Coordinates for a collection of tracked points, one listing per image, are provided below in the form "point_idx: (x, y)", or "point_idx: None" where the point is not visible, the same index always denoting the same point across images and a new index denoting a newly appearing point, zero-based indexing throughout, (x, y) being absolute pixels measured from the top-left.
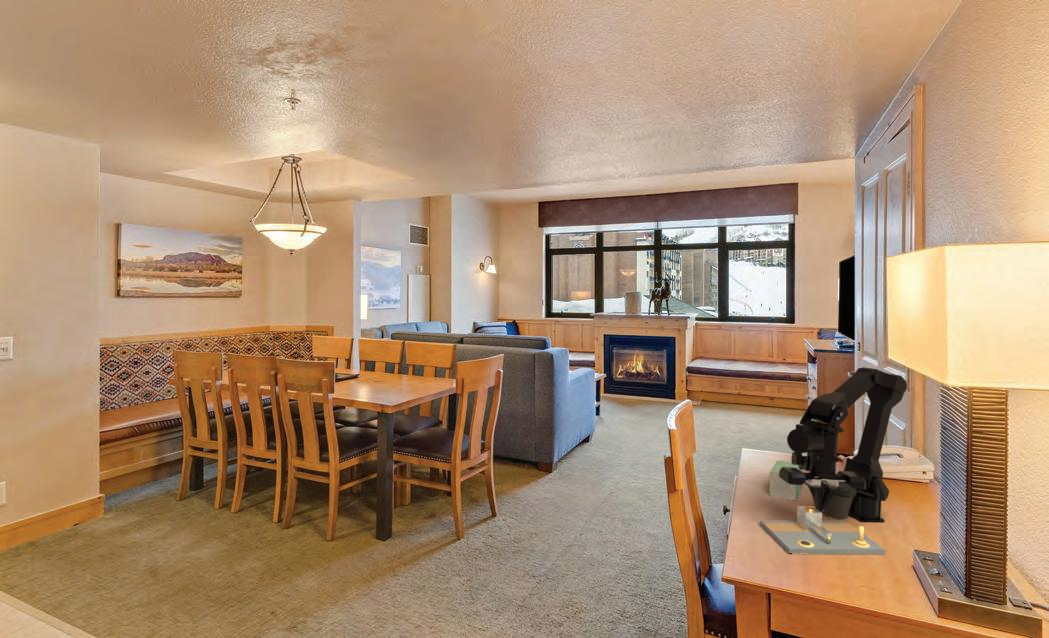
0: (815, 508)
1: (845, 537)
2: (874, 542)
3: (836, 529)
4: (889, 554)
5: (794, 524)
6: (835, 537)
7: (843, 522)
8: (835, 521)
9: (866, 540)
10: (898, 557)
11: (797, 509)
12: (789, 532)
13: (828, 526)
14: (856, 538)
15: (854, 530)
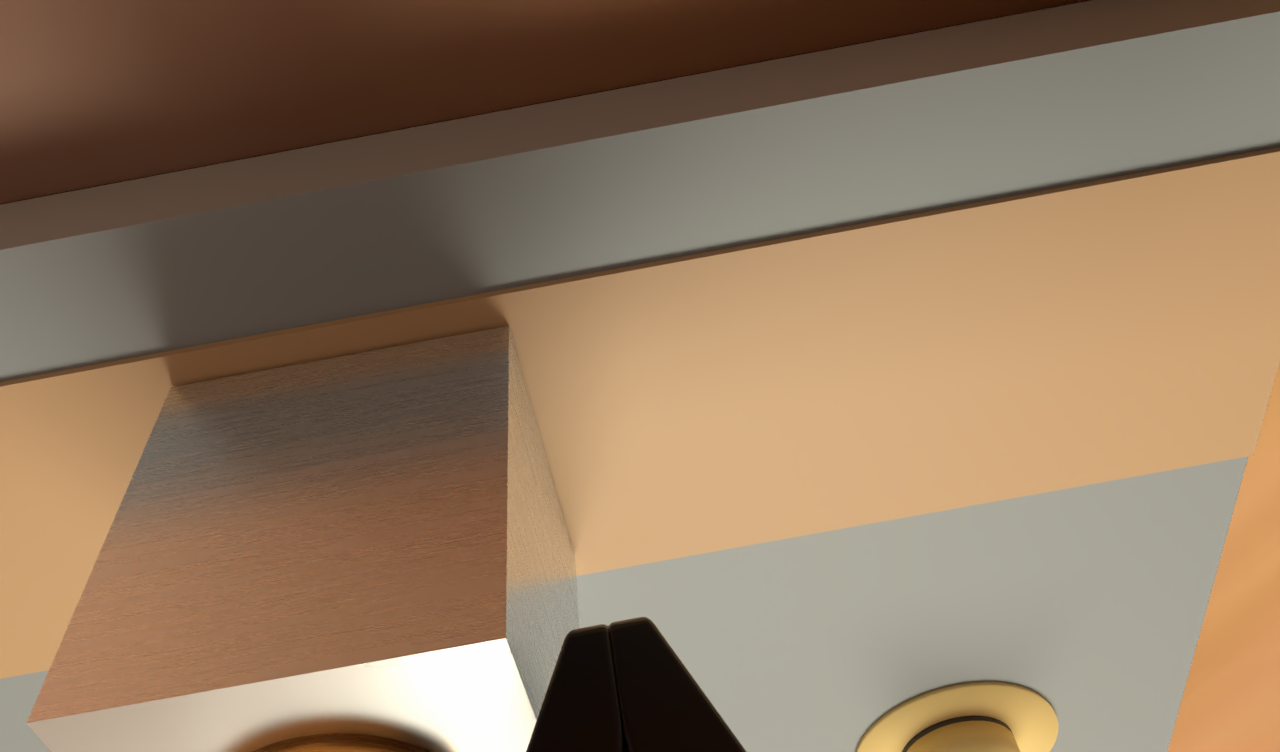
0: (520, 738)
1: (862, 644)
2: (1175, 679)
3: (873, 460)
4: (1187, 711)
5: (121, 431)
6: (711, 669)
7: (1255, 106)
8: (1107, 80)
9: (1110, 654)
10: (1230, 740)
11: (66, 649)
12: (26, 683)
13: (788, 381)
14: (1006, 640)
15: (1176, 435)
